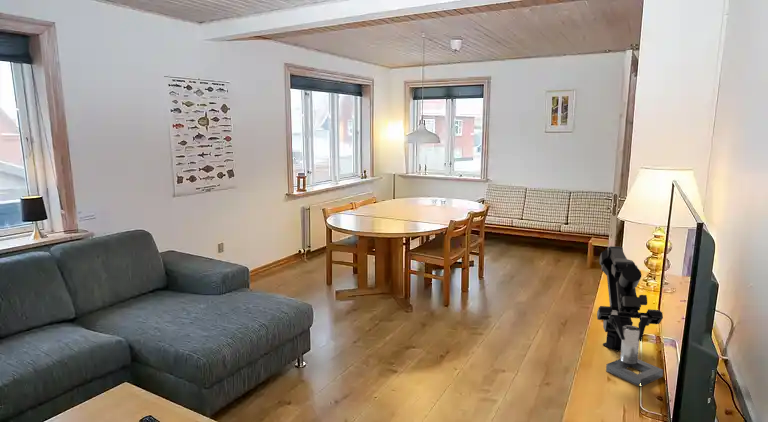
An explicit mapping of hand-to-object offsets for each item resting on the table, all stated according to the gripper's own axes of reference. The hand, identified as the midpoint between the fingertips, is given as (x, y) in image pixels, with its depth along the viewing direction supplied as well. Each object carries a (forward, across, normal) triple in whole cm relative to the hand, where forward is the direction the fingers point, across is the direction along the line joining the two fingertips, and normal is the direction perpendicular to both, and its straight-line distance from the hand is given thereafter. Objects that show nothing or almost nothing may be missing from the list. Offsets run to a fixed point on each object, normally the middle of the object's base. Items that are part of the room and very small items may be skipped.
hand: (631, 340), depth 155 cm
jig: (+7, +2, +12) cm, 14 cm away
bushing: (+4, 0, +6) cm, 8 cm away
